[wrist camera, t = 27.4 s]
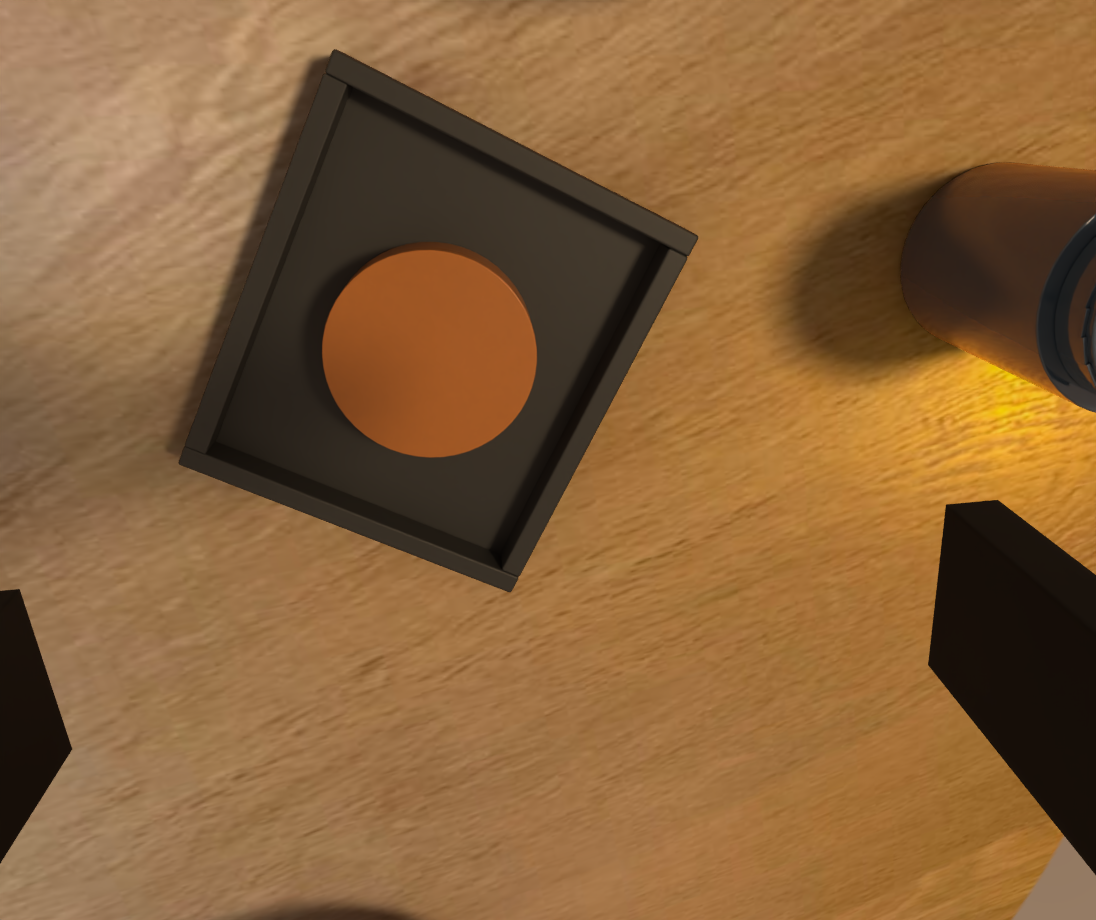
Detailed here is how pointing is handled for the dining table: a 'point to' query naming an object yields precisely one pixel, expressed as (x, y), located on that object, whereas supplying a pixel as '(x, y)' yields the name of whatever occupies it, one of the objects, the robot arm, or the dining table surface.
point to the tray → (447, 217)
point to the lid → (430, 350)
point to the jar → (1011, 272)
